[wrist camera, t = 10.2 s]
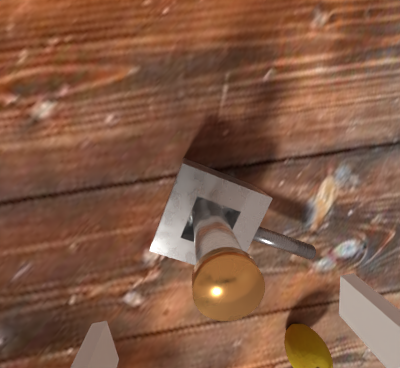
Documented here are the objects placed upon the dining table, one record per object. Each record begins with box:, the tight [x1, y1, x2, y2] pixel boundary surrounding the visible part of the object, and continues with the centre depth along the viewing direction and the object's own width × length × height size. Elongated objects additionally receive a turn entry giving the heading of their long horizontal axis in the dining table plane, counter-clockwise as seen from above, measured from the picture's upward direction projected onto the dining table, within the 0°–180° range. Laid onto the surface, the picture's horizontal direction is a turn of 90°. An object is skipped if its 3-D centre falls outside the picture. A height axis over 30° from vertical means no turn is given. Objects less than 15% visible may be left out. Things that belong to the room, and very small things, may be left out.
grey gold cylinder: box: [192, 199, 265, 321], centre depth 20 cm, size 5×5×14 cm
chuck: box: [149, 158, 316, 265], centre depth 26 cm, size 21×11×6 cm, turn 68°
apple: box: [284, 324, 333, 368], centre depth 31 cm, size 6×6×8 cm
